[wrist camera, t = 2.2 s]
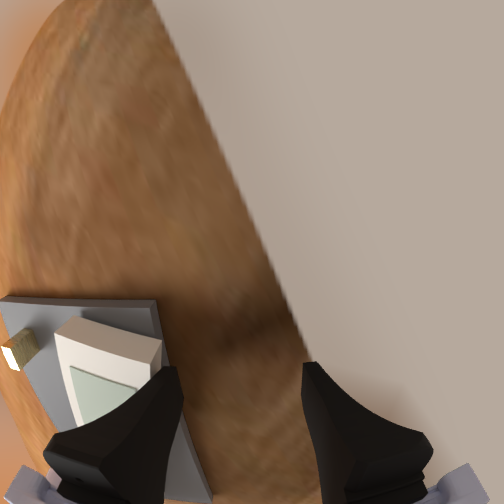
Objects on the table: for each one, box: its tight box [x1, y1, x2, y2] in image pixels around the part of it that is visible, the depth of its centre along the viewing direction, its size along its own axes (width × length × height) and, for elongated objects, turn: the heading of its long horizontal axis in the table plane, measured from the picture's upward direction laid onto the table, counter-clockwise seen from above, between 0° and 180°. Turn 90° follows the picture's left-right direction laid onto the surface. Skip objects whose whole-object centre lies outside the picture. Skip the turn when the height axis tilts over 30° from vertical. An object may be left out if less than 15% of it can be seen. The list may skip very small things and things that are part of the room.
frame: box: [54, 315, 165, 495], centre depth 13 cm, size 18×5×2 cm, turn 169°
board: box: [0, 296, 213, 504], centre depth 14 cm, size 21×12×4 cm, turn 3°
